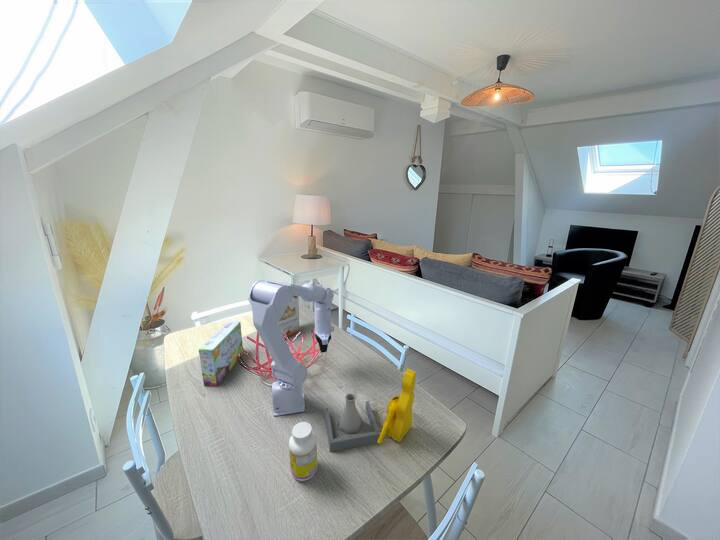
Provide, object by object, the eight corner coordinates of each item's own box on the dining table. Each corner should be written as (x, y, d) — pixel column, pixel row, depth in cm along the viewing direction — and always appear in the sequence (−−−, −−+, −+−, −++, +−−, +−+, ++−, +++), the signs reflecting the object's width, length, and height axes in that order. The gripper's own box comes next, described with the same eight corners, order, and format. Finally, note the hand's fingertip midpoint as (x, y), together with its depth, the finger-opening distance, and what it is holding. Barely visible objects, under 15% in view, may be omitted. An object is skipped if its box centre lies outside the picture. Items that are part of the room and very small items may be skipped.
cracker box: (276, 343, 127) (273, 300, 121) (268, 338, 131) (264, 296, 124) (300, 331, 138) (298, 291, 132) (292, 327, 141) (290, 288, 135)
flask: (359, 436, 81) (360, 407, 78) (335, 432, 82) (335, 404, 79) (364, 416, 88) (364, 390, 85) (341, 413, 89) (341, 386, 86)
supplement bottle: (292, 458, 74) (290, 418, 70) (318, 456, 75) (316, 417, 71) (288, 483, 68) (285, 442, 64) (316, 481, 68) (315, 440, 65)
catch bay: (330, 451, 76) (329, 443, 75) (324, 416, 88) (324, 408, 87) (379, 441, 79) (380, 433, 78) (368, 408, 91) (368, 401, 90)
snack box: (218, 386, 99) (213, 349, 95) (203, 386, 100) (196, 349, 95) (244, 352, 120) (240, 320, 115) (231, 352, 120) (227, 320, 116)
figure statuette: (399, 408, 91) (403, 348, 85) (422, 418, 87) (428, 357, 81) (370, 449, 77) (373, 381, 71) (396, 464, 73) (401, 394, 67)
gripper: (336, 326, 95) (337, 361, 99) (331, 309, 109) (331, 340, 113) (315, 328, 94) (316, 364, 98) (312, 310, 107) (313, 342, 111)
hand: (323, 351), depth 105 cm, fingers closed
